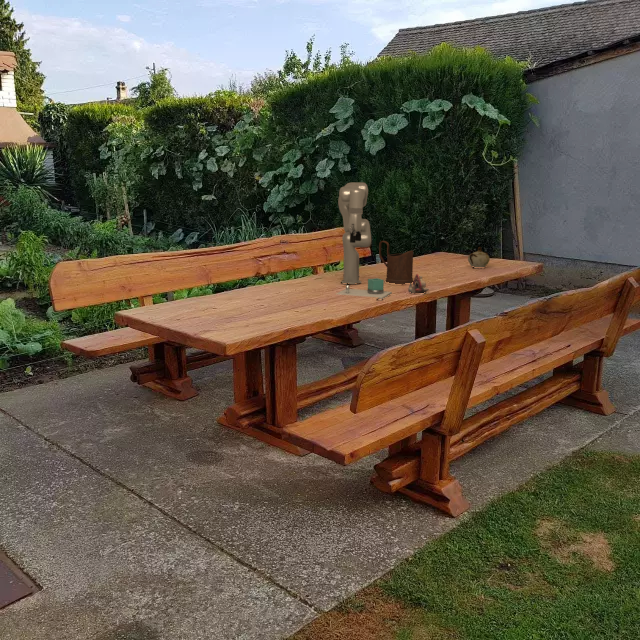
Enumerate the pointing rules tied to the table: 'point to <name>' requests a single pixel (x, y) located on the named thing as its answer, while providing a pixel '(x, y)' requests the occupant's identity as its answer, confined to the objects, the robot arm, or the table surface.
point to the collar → (375, 284)
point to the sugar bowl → (478, 258)
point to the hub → (375, 291)
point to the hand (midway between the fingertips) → (355, 241)
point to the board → (363, 293)
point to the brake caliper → (418, 285)
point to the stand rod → (347, 288)
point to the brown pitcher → (398, 266)
